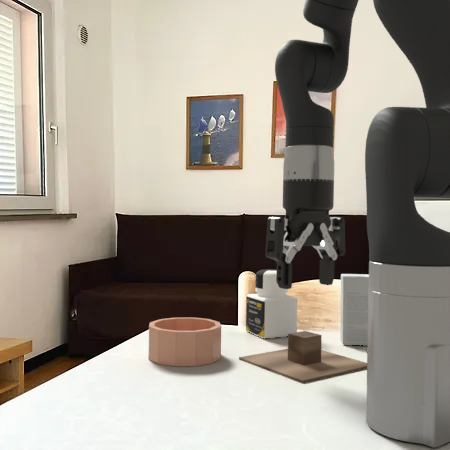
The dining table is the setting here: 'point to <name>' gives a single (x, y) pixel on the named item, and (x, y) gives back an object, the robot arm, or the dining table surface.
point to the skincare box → (354, 309)
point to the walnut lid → (304, 360)
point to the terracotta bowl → (184, 341)
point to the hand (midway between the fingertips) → (306, 286)
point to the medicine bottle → (270, 308)
